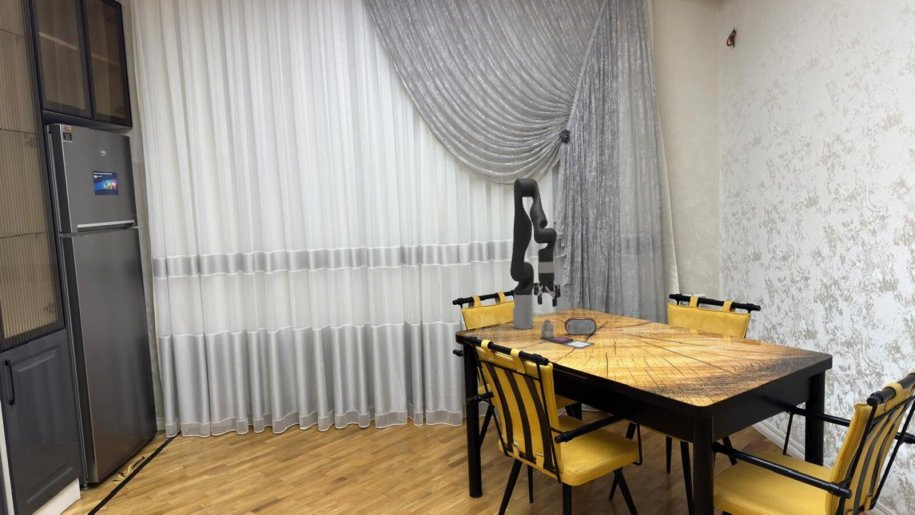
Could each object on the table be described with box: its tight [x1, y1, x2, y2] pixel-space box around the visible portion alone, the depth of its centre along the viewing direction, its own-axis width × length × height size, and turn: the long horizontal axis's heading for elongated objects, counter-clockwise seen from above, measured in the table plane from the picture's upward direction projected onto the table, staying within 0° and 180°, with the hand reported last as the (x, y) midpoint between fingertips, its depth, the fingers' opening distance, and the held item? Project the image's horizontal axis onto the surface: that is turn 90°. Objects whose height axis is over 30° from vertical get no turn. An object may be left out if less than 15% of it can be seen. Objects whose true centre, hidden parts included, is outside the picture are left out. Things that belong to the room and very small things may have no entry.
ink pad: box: [548, 335, 575, 345], centre depth 278 cm, size 8×8×1 cm
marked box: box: [562, 339, 596, 350], centre depth 270 cm, size 10×10×1 cm
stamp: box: [540, 319, 556, 341], centre depth 283 cm, size 5×5×9 cm
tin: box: [564, 316, 597, 336], centre depth 289 cm, size 15×3×8 cm, turn 84°
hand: (547, 305), depth 282 cm, fingers open, 8 cm apart
